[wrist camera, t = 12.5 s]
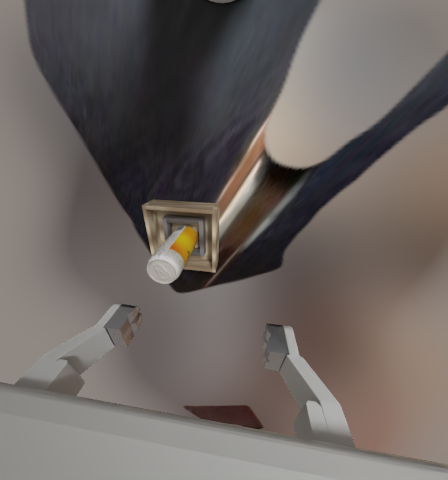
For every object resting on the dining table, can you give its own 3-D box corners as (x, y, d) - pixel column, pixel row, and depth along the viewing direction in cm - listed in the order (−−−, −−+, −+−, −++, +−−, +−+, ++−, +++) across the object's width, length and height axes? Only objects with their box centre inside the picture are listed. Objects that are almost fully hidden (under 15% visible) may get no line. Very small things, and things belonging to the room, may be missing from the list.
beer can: (183, 248, 45) (156, 288, 32) (171, 228, 42) (137, 263, 29) (203, 241, 43) (184, 281, 30) (191, 220, 41) (165, 253, 28)
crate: (153, 199, 40) (141, 205, 36) (219, 203, 39) (216, 210, 34) (162, 255, 48) (154, 266, 43) (218, 260, 46) (215, 272, 42)
